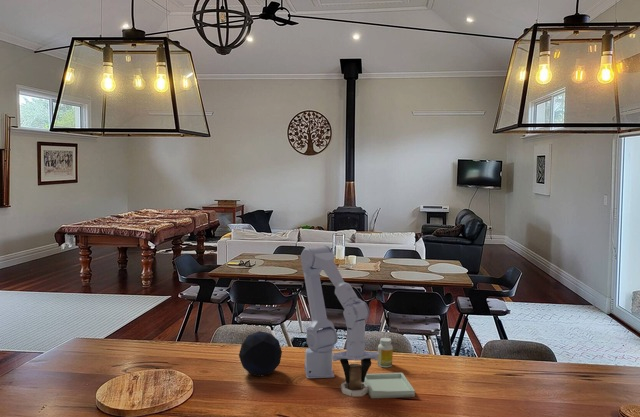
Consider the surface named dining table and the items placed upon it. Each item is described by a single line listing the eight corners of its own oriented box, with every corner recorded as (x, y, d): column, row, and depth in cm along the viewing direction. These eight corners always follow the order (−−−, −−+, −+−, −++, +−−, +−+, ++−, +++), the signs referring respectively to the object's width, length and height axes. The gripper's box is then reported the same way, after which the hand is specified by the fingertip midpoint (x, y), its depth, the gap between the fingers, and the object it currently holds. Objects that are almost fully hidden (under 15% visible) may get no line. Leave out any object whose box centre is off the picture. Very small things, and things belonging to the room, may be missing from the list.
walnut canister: (349, 393, 157) (349, 369, 156) (346, 387, 161) (347, 363, 161) (362, 393, 157) (363, 368, 157) (359, 387, 162) (360, 363, 161)
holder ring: (343, 396, 155) (343, 392, 154) (339, 385, 163) (339, 380, 163) (370, 395, 156) (370, 391, 155) (364, 384, 164) (364, 380, 164)
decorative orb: (235, 349, 179) (238, 324, 169) (276, 346, 183) (281, 321, 173) (239, 386, 169) (242, 361, 159) (282, 381, 173) (288, 357, 163)
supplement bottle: (374, 364, 181) (375, 338, 181) (384, 361, 185) (385, 335, 184) (385, 369, 177) (385, 342, 176) (395, 365, 180) (396, 339, 180)
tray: (370, 398, 154) (371, 392, 154) (361, 379, 168) (361, 373, 167) (414, 396, 155) (414, 390, 155) (402, 378, 169) (402, 372, 169)
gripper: (335, 345, 153) (334, 387, 154) (381, 343, 155) (379, 386, 156) (331, 337, 160) (331, 378, 161) (375, 336, 162) (374, 376, 163)
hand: (354, 381), depth 159 cm, fingers closed on walnut canister, 4 cm apart
